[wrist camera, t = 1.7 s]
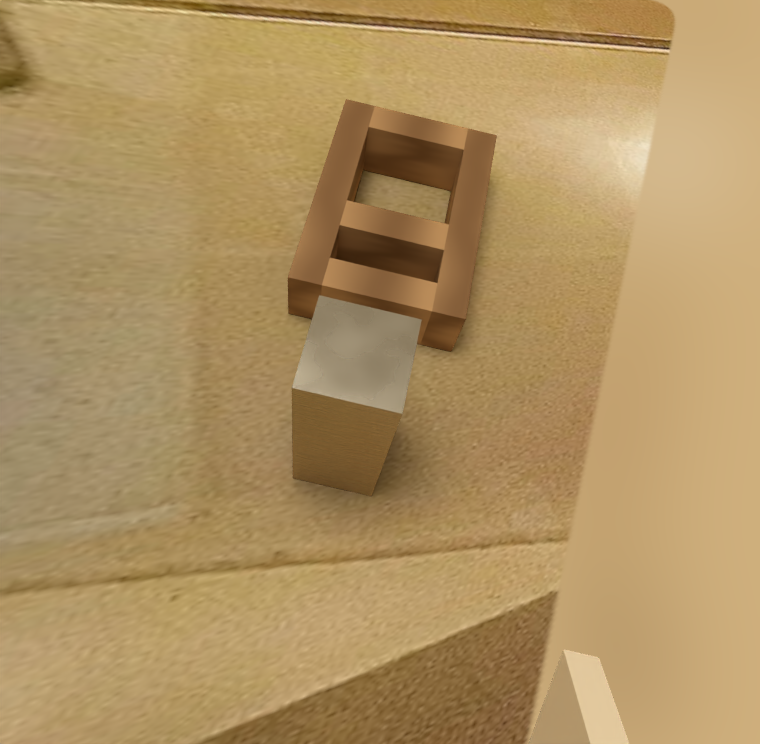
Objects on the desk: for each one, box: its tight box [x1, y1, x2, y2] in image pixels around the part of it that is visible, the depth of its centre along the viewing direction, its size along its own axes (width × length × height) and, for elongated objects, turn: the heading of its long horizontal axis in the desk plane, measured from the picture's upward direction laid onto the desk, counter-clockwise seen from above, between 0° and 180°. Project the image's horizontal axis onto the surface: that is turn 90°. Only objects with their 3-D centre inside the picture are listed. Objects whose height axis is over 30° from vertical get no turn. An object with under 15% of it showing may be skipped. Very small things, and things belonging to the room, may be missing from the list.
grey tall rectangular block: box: [292, 295, 422, 496], centre depth 33 cm, size 4×4×12 cm
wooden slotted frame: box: [288, 99, 497, 352], centre depth 43 cm, size 10×15×4 cm
